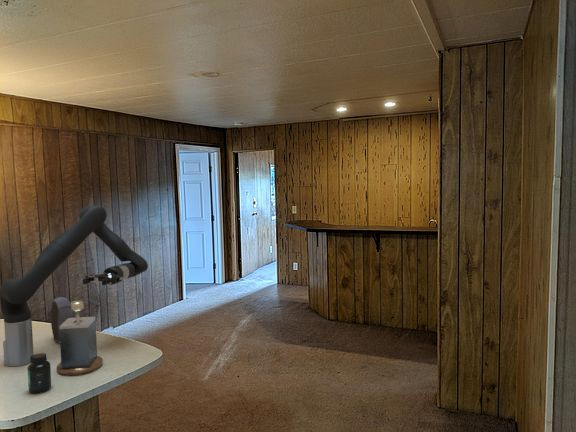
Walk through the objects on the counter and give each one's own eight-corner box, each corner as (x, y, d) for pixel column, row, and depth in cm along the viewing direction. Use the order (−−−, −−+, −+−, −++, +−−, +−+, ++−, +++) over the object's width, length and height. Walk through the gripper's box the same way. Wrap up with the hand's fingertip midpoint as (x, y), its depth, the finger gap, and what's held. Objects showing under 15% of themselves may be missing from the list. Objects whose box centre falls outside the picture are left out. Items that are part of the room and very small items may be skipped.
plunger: (67, 363, 165) (64, 305, 163) (73, 356, 172) (70, 300, 170) (86, 362, 166) (83, 304, 164) (91, 355, 173) (89, 299, 171)
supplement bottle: (26, 395, 147) (24, 360, 146) (31, 386, 154) (29, 353, 153) (48, 392, 149) (47, 358, 148) (53, 383, 156) (51, 350, 155)
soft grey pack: (50, 338, 201) (48, 295, 199) (70, 333, 206) (68, 291, 204) (60, 347, 189) (57, 301, 188) (80, 342, 195) (78, 298, 193)
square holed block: (50, 377, 160) (47, 329, 159) (65, 359, 176) (62, 316, 174) (96, 374, 163) (94, 327, 161) (107, 357, 178) (105, 313, 177)
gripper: (101, 265, 194) (77, 272, 178) (131, 266, 191) (108, 273, 175) (101, 281, 194) (77, 290, 178) (131, 283, 191) (109, 292, 176)
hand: (93, 282), depth 177 cm, fingers open, 8 cm apart
